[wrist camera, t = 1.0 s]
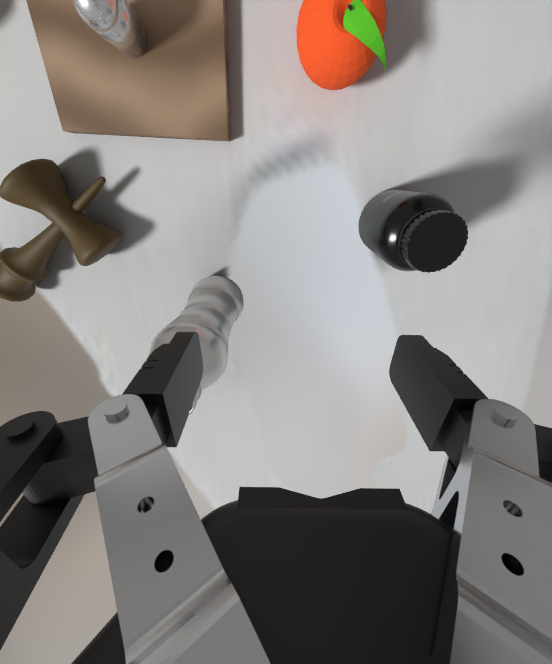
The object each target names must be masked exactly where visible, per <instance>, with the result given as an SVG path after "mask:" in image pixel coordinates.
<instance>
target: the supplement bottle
mask: <svg viewBox="0 0 552 664" xmlns="http://www.w3.org/2000/svg"><path fill="white" fill-rule="evenodd" d="M359 234H360V237H361V239H362V241H363V242H364V244H365V245H366V246H367V247H368V248H369V249H370V250H372V251H373V252H374V253H375V254H376V255H378V256H379V257H380V258H381V259H382V260H384V261H385V262H386V263H387V264H389V265H390V266H392V267H393V268H395V269H398V270H402V271H416V270H418V271H421V272H428V273H429V272H435V271H440V270H441V269H444V268H446V267H447V266H449V265H451V264H452V263H453V262H454V261H456V260H457V258H458V257H459V256H460V255H461V252H462V251H463V250H464V247H465V245H466V244H467V239H468V236H467V235H468V230H467V226H466V225H465V221H464V220H462V217H460V216H458V215H457V214H456V213H455V212H454V209H453V208H452V206H451V205H450V203H449V202H448V201H447V200H445V199H444V198H442V197H440V196H438V195H435V194H430V193H423V192H415V191H407V190H396V189H395V190H387V191H384V192H381V193H379V194H378V195H376V196H375V197H373V198H372V199H371V200H370V201H369V202H368V203H367V204H366V206H365V207H364V209H363V211H362V213H361V216H360V219H359Z"/></svg>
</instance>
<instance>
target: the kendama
mask: <svg viewBox="0 0 552 664" xmlns="http://www.w3.org/2000/svg"><path fill="white" fill-rule="evenodd" d="M105 181H106V179H105V178H104V177H100V178H98V179H97V180H96V181H95V182H94V183H92V184H91V185H90V186H89V187H88V188H87V189H86V190H85V191H84V192H83V193H82V194H81V195H80V196H79V197H78V198H77V199H76V200H75V202H73V201H72V200H71V198H70V197H69V195H68V193H67V191H66V188H65V185H64V181H63V178H62V175H61V172H60V169H59V167H58V166H57V165H56V164H55V163H54V162H53V161H52V160H47V159H37V160H31V161H29V162H26V163H24V164H21V165H20V166H18V167H17V168H15V169H14V170H12V171H11V172H10V173H9V174H8V175H7V176H6V177H5V178H4V180H3V182H2V184H1V186H0V197H1V198H3V199H5V200H7V201H9V202H11V203H14V204H17V205H20V206H23V207H26V208H29V209H32V210H35V211H37V212H39V213H41V214H43V215H44V216H45V217H46V218H48V219H49V220H50V221H52V222H53V223H52V224H51V225H50V226H48V227H47V228H46V229H45V230H44V231H42V232H41V233H40V234H39V235H37V236H36V237H35V238H34V239H32V240H31V241H29V242H28V243H27V244H25V245H24V246H22V247H20V248H15V247H14V248H6V249H4V250H3V251H1V252H0V261H1V262H0V298H2V299H6V300H9V301H24V300H27V299H29V298H30V297H31V296H33V295H34V294H35V289H36V287H35V285H34V282H38V281H41V280H44V279H45V278H46V277H47V276H48V272H49V270H48V268H47V266H46V264H47V262H48V260H49V258H50V256H51V254H52V252H53V251H54V249H55V247H56V246H57V244H58V242H59V241H60V239H61V238H62V237H63V235H64V234H65V235H66V237H67V238H68V240H69V242H70V244H71V246H72V248H73V251H74V253H75V256H76V258H77V260H78V262H79V264H80V265H82V266H88V265H91V264H93V263H95V262H97V261H98V260H100V259H101V258H103V257H104V256H105V255H107V254H108V253H109V252H110V251H111V250H113V249H114V248H115V247H116V246H117V245H118V243H119V242H120V241H121V239H122V234H121V233H120V232H118V231H117V230H114V229H112V228H110V227H107V226H104V225H102V224H100V223H97V222H95V221H94V220H92V219H91V218H90V217H88V216H87V215H86V214H85V213H84V212H83V210H84V208H85V207H86V206H87V205H88V204H89V202H90V201H91V200H92V199H93V197H94V196H95V195H96V194H97V193H98V191H99V190H100V189H101V187H102V186H103V185H104V183H105Z"/></svg>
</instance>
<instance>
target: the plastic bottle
mask: <svg viewBox="0 0 552 664" xmlns="http://www.w3.org/2000/svg"><path fill="white" fill-rule="evenodd" d="M242 309H243V296H242V293H241V290H240V288H239V287H238V286H237V284H235V283H234V282H233V281H232V280H230V279H228V278H226V277H223V276H210V277H207V278H205V279H203V280H201V281H199V282H198V283H197V284H196V285H195V286H194V287H193V289H192V291H191V293H190V295H189V299H188V303H187V305H186V307H185V309H184V310H183V311H182V313H181V314H180V315H179V316H178V317H177V318H176V319H175V320H174V321H172V322H171V323H170V324H169V325H167V326H166V327H165V328H164V329H163V330H162V331H161V332H160V333H159V334H158V335H157V336H156V337H155V338H154V340H153V342H152V344H151V349H150V354H151V353H152V351H153V350H155V349H156V348H158V347H159V346H161V345H162V344H169V343H170V341H171V340H172V338H173V337H174V335H175V334H176V332H178V331H187V332H197V333H198V335H199V340H200V347H201V354H202V360H203V375H202V379H201V382H200V385H199V387H198V390H197V393H196V396H195V398H194V401H193V404H192V406H191V409H190V412H189V414H190V413H192V411H193V410H194V408H195V406H196V403H197V400H198V399H199V397H200V395H201V392H202V389H204V388H206V387H208V386H210V385H212V384H213V383H214V382H215V381H216V380H217V379H218V378H219V377H220V376H221V375H222V373H223V372H224V370H225V367H226V364H227V357H228V340H229V335H230V330H231V328H232V326H233V324H234V322H235V321H236V320H237V319H238V317H239V316H240V314H241V312H242ZM150 354H149V356H150Z"/></svg>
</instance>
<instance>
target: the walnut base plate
mask: <svg viewBox="0 0 552 664" xmlns="http://www.w3.org/2000/svg"><path fill="white" fill-rule="evenodd" d="M126 1H127V2H128V4H129V5H130V6H131V7H132V8H133V10H134V11H135V12H136V13H137V14H138V15H139V17H140V18H141V19H142V21H143V23H144V25H145V27H146V30H147V34H148V46H147V49H146V51H145V53H144V54H143V55H142V56H141V57H139V58H129V57H127V56H126V55H124V54H123V53H122V52H121V51H119V50H118V49H117V48H116V47H114V46H113V45H112V44H111V43H109V42H108V41H107V40H106V39H104V38H103V37H102V36H101V35H100V34H98V33H97V32H96V31H95V30H93V29H92V28H91V27H90V26H89V25H87V24H86V23H85V22H84V21H83V19H82V18H81V17H80V15H79V14H78V12H77V11H76V9H75V7H74V5H73V2H72V0H27V4H28V8H29V11H30V15H31V18H32V22H33V25H34V29H35V33H36V36H37V40H38V43H39V47H40V50H41V54H42V58H43V61H44V65H45V68H46V72H47V75H48V79H49V83H50V86H51V90H52V93H53V97H54V101H55V104H56V108H57V111H58V115H59V118H60V122H61V126H62V129H63V131H66V132H71V133H82V134H100V135H119V136H138V137H157V138H176V139H195V140H213V141H230V125H229V95H228V64H227V34H226V4H225V0H126Z"/></svg>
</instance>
